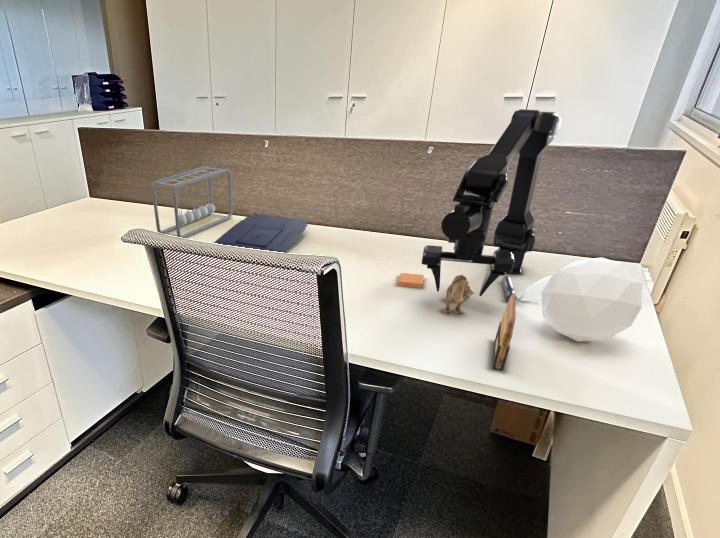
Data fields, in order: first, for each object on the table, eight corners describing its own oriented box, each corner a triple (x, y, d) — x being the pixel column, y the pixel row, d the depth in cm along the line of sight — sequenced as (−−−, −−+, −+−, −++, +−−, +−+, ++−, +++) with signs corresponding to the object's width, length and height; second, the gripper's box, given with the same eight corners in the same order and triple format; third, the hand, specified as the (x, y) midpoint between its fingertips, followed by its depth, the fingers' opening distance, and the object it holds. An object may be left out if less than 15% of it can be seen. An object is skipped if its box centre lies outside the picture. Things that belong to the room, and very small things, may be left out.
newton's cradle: (211, 213, 188) (208, 164, 178) (233, 217, 182) (231, 167, 173) (156, 235, 168) (149, 182, 158) (179, 240, 163) (173, 185, 153)
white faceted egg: (630, 261, 85) (615, 217, 106) (497, 309, 100) (506, 262, 120) (665, 338, 88) (643, 281, 109) (531, 374, 103) (534, 317, 124)
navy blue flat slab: (314, 228, 164) (314, 218, 161) (275, 270, 144) (275, 258, 142) (250, 220, 174) (250, 210, 172) (206, 257, 155) (205, 247, 152)
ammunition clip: (493, 342, 102) (509, 290, 95) (503, 344, 101) (519, 291, 95) (491, 368, 94) (508, 313, 87) (502, 371, 93) (519, 315, 87)
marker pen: (510, 281, 126) (509, 274, 125) (517, 302, 116) (516, 294, 115) (501, 283, 127) (500, 276, 126) (507, 304, 117) (506, 296, 116)
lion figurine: (468, 321, 109) (477, 285, 105) (442, 319, 111) (450, 282, 106) (463, 294, 121) (471, 260, 116) (441, 292, 123) (448, 258, 118)
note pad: (423, 279, 130) (424, 274, 129) (422, 288, 125) (422, 283, 124) (399, 276, 132) (400, 272, 131) (397, 285, 127) (398, 281, 126)
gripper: (518, 219, 108) (500, 283, 117) (429, 213, 114) (418, 275, 123) (523, 235, 100) (503, 303, 108) (427, 228, 106) (416, 294, 114)
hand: (458, 293), depth 114 cm, fingers open, 9 cm apart
